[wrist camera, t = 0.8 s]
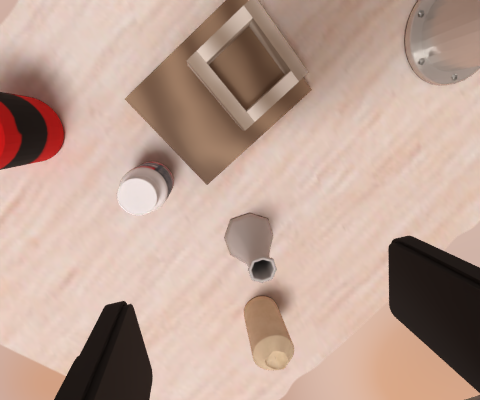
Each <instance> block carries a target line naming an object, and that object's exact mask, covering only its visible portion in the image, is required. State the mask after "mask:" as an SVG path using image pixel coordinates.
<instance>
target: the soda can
mask: <svg viewBox="0 0 480 400" xmlns="http://www.w3.org/2000/svg"><path fill="white" fill-rule="evenodd" d="M63 139H64V131H63V126H62V124H61V121H60V119H59V117H58V116H57V114H56V113H55V112H54V111H53V109H51V108H50V107H49V106H48V105H47V104H45V103H43V102H42V101H40V100H37V99H35V98H31V97H26V96H20V95H15V94H9V93H3V92H0V170H1V169H6V168H11V167H16V166H21V165H26V164H30V163H35V162H40V161H45V160H47V159H50V158H51V157H53V156H54V155H56V153H57V152H58V151H59V150H60V148H61V146H62V143H63Z"/></svg>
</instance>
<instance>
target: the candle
mask: <svg viewBox="0 0 480 400" xmlns="http://www.w3.org/2000/svg"><path fill="white" fill-rule="evenodd" d="M244 317H245V322H246V327H247V332H248V337H249V341H250V346H251V351H252V355H253V359H254V362H255V363H256V364H257V366H259V367H260V368H263V369H266V370H281V369H284V368H285V367H286V365H287V364H288V363H289V361H290V360H291V358H292V357H293V354H294V346H293V343H292V341H291V338H290V336H289V333H288V331H287V329H286V326H285V324H284V321H283V319H282V316H281V314H280V311H279V309H278V307H277V304H276V303H275V302H274V300H273V299H271V298H269V297H266V296H259V297H255V298H253V299H252V300H250V301H249V302H248V303H247V305H246V306H245V309H244Z"/></svg>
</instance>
